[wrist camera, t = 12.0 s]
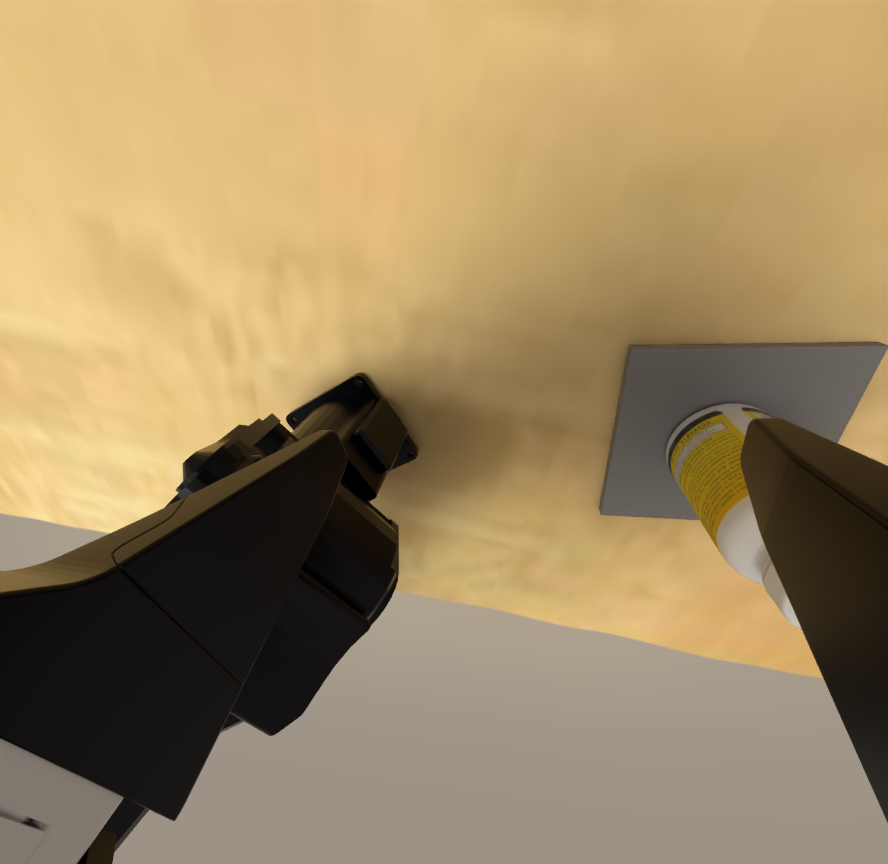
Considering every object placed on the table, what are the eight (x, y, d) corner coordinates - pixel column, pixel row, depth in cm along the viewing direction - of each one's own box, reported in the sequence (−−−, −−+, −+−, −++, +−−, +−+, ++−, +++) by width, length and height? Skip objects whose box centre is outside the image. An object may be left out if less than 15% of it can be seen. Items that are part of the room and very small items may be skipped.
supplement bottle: (659, 486, 23) (744, 646, 15) (667, 406, 20) (776, 544, 12) (763, 481, 22) (921, 651, 13) (785, 394, 19) (999, 539, 11)
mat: (599, 508, 25) (600, 514, 25) (629, 345, 20) (632, 349, 19) (787, 518, 23) (793, 525, 23) (878, 341, 18) (888, 345, 17)
